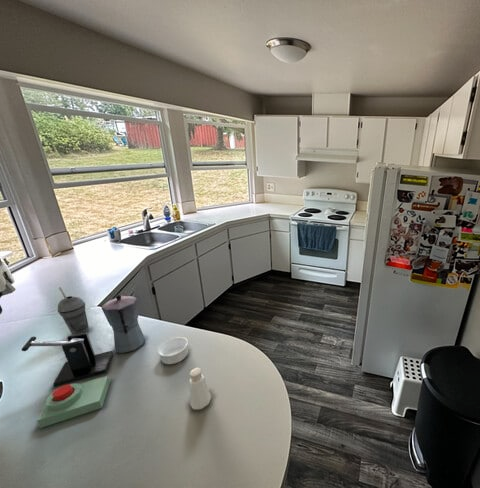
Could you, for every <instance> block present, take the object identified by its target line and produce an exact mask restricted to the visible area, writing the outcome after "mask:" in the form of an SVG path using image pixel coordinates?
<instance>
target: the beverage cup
mask: <svg viewBox="0 0 480 488" xmlns="http://www.w3.org/2000/svg"><path fill="white" fill-rule="evenodd" d="M58 290H59V292H60V293H61V295H62V297H63V298H62V299H61V300H60V301H59V302H58V303H57V313H58V314H59V315H60V317H62V319H63V321H64V323H65V324H66V327H67V328H68V330H69V332H70V334H71V335H75V334H80V333H85V332H87V334H88V333H89V332H90V326H89V322H88V316H87V311H86V302H85V301H84V299H83V298H81V297H79V296H77V295H76V296H75V295H69V296H67V295H66V294H65V292H64V291H63V289H62V288H61V287H60V286H59V287H58Z"/></svg>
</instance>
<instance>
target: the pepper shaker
mask: <svg viewBox="0 0 480 488" xmlns="http://www.w3.org/2000/svg"><path fill="white" fill-rule="evenodd" d="M189 377H190V379H189V381H188V386H189V388H188V389H189V390H188V391H189V404H190V407H191V408H192V410H202V409H203V408H205V407H207V406H208V405H209V404H210V402H211V399H212V395H211V392H210V389H209V386H208V384H207V381H206V377H205V376H204V374H203V373H202V369H201V367H200V368H199V367H195V368H193V369H192V370H191V371H190V372H189Z"/></svg>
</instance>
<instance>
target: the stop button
mask: <svg viewBox="0 0 480 488" xmlns="http://www.w3.org/2000/svg"><path fill="white" fill-rule="evenodd" d="M52 393H53V394H52ZM52 393H51V394H52V395H53V398H54V400H55V401H61V400H64V399H66V398H68V397H69V396H70V395H72V393H73V388H72V386H71V385H69V384H63V385H60V386H58V388H56V389H55V390H54V392H53V391H52Z"/></svg>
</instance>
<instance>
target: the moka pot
mask: <svg viewBox="0 0 480 488" xmlns="http://www.w3.org/2000/svg"><path fill="white" fill-rule="evenodd" d="M114 297H115V298H112V299H110V300H107V301H106V302H105V303H104V304H103V305H102V306H101V310H102V312H103V314H104V317H105V319H106V320H107V323H108V324H109V326H110V327H111V328H112V331H113V342H114V343H113V344H114V351H115V353H119V354H124V353H129V352H133V351H134V350H137V349H138V348H140V347H141V346H143V345H144V344H145V342H146V337H145V335H144V333H143V331H142V327H141V325H140V324H139V319H138V318H139V306H138V298H136V297H134V296H132V295H126V296H125V295H121V294H116V295H115V296H114Z"/></svg>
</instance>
